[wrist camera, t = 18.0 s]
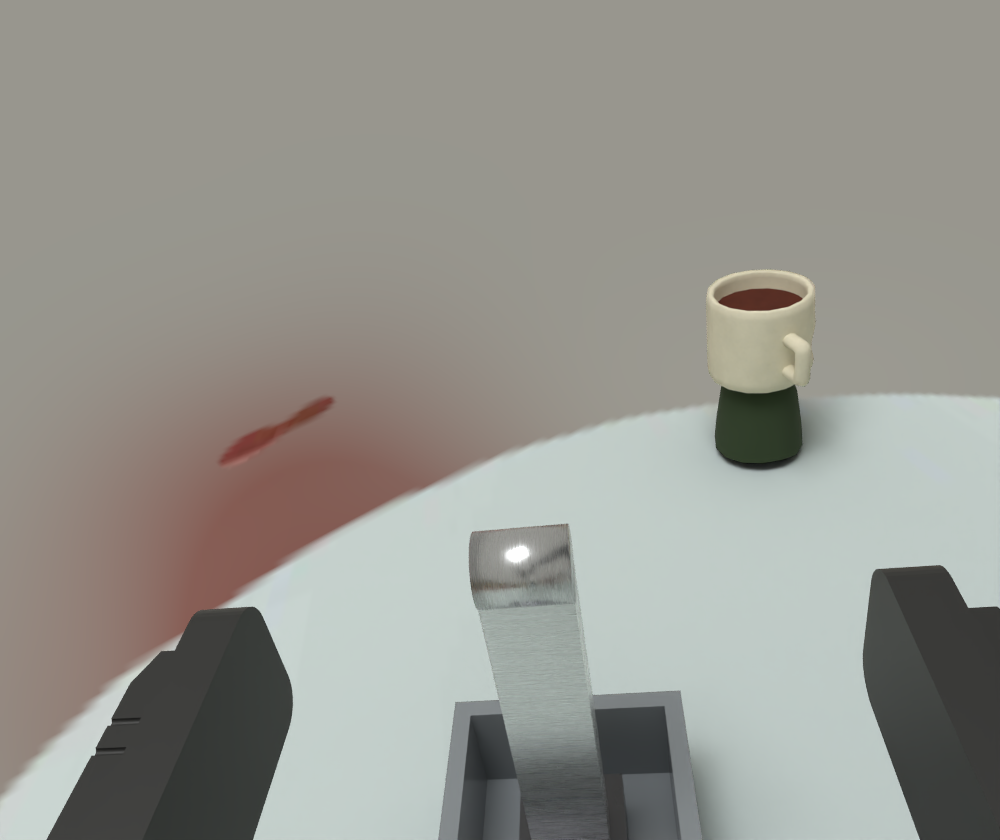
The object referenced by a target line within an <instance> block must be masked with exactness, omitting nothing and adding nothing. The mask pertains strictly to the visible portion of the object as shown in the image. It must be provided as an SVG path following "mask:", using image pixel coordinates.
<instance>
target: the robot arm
mask: <svg viewBox="0 0 1000 840" xmlns="http://www.w3.org/2000/svg"><path fill="white" fill-rule="evenodd" d="M863 669H864V677H865V683H866V688H867V692H868V696H869V700H870V703H871V706H872V709H873V711H874V714H875V717H876V720H877V722H878V725H879V728H880V731H881V733H882V736H883V739H884V742H885V744H886V747H887V750H888V753H889V755H890V758H891V761H892V764H893V766H894V769H895V772H896V775H897V777H898V780H899V783H900V786H901V788H902V791H903V794H904V797H905V799H906V802H907V805H908V808H909V811H910V813H911V816H912V819H913V822H914V824H915V827H916V830H917V833H918V835H919V838H920V840H1000V609H999V608H998V607H979V608H968V607H967V605H966V603H965V601H964V599H963V598H962V596H961V594H960V592H959V590H958V588H957V586H956V585H955V583H954V581H953V579H952V577H951V576H950V574H949V572H948V571H947V570H946V569H945V568H944V567H943V566H940V565H936V566H920V567H904V568H889V569H876V570H875V571H874V573H873V575H872V580H871V588H870V596H869V605H868V613H867V622H866V630H865V639H864V648H863ZM292 708H293V696H292V687H291V683H290V679H289V677H288V674H287V672H286V670H285V667H284V665H283V663H282V660H281V658H280V656H279V653H278V651H277V649H276V646H275V644H274V642H273V639H272V637H271V635H270V632H269V630H268V628H267V626H266V623H265V621H264V619H263V616H262V615H261V613H260V611H259V610H258V609H256V608H255V607H241V608H225V609H210V610H200V611H198V612H197V613H195V614H194V616H193V617H192V618H191V620H190V622H189V624H188V625H187V627H186V629H185V631H184V633H183V635H182V637H181V639H180V641H179V643H178V645H177V647H176V649H175V651H161V652H160V653H159V654H158V655H157V656H156V657H155V658H154V659H153V661H152V662H151V663H150V664H149V665H148V666H147V667H146V668H145V669H144V670H143V671H142V672H141V673H140V674H139V675H138V676H137V677H136V678H135V679H134V680H133V681H132V682H131V683H130V685H129V687H128V689H127V691H126V693H125V694H124V696H123V698H122V700H121V702H120V704H119V706H118V707H117V709H116V711H115V713H114V715H113V717H112V724H111V726H107V728H106V730H105V732H104V734H103V735H102V737H101V739H100V741H99V743H98V745H97V747H96V754H95V756H91V758H90V760H89V761H88V763H87V765H86V767H85V769H84V771H83V773H82V775H81V776H80V778H79V780H78V782H77V784H76V786H75V788H74V789H73V791H72V793H71V795H70V797H69V799H68V801H67V802H66V804H65V806H64V808H63V810H62V812H61V814H60V816H59V817H58V819H57V821H56V823H55V825H54V827H53V829H52V830H51V832H50V834H49V836H48V838H47V840H253V837H254V834H255V831H256V828H257V825H258V822H259V819H260V816H261V813H262V810H263V807H264V804H265V800H266V797H267V794H268V791H269V788H270V785H271V782H272V779H273V776H274V773H275V770H276V767H277V763H278V760H279V757H280V754H281V751H282V748H283V745H284V742H285V739H286V736H287V733H288V730H289V726H290V722H291V717H292Z"/></svg>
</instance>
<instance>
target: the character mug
mask: <svg viewBox="0 0 1000 840" xmlns="http://www.w3.org/2000/svg"><path fill="white" fill-rule="evenodd" d="M706 314H707V359H708V370H709V374H710V375H711V377H712V378H713V380H714V382H715V383H717V384H719V385H721V392H720V398H719V405H718V411H717V418H716V429H715V441H716V448H717V449H718V450H719V451H720V452H721V453H722V454H723V455H724V456H725V457H726V458H729V459H732V460H736V461H739V462H742V463H767V462H772V461H778V460H783V459H786V458H789V457H791V456H794V455H797V453H798V451H799V449H800V448H801V446H802V429H801V418H800V410H799V402H798V394H797V389H796V387H795V385H798V386H802V387H805V386H806V385H807V384H808V383H809V380H810V370H811V367H812V364H813V360H814V358H813V353H812V350H811V345H812V338H813V334H814V328H815V322H816V321H815V285H814V284H813V283H812V281H811V280H809V279H808V278H806V277H805V276H802V275H800V274H797V273H793V272H789V271H781V270H771V269H769V270H768V269H767V270H749V271H743V272H738V273H732V274H730V275H727V276H725V277H723V278H720V279H718V280H716V281H715V282H714V283H713V284H712V285H711V286H709V287H708V292H707V299H706Z"/></svg>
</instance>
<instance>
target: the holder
mask: <svg viewBox="0 0 1000 840" xmlns="http://www.w3.org/2000/svg"><path fill="white" fill-rule="evenodd" d="M593 701H594V708H595V715H596V722H597V730H598V737H599V744H600V751H601V758H602V765H603V772H604V774H621V773H622V778H623V786H624V794H625V803H626V811H627V823H628V835H629V840H702V834H701V827H700V820H699V814H698V807H697V800H696V793H695V787H694V780H693V773H692V767H691V760H690V753H689V746H688V740H687V733H686V726H685V719H684V713H683V706H682V699H681V692H680V691H664V692H645V693H626V694H606V695H593ZM520 797H521V792H520V788H519V784H518V779H517V775H516V771H515V766H514V762H513V758H512V754H511V749H510V745H509V741H508V736H507V732H506V728H505V723H504V719H503V715H502V711H501V706H500V702H499V700H490V701H471V702H456V703H455V710H454V718H453V726H452V734H451V742H450V750H449V758H448V766H447V774H446V782H445V790H444V798H443V806H442V814H441V822H440V830H439V838H438V840H519V827H520Z"/></svg>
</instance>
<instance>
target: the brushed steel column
mask: <svg viewBox="0 0 1000 840" xmlns="http://www.w3.org/2000/svg"><path fill="white" fill-rule="evenodd" d="M469 572H470V582H471V590H472V595H473V600H474V603H475V606H476V608H477V610H478V612H479V616H480V620H481V625H482V629H483V633H484V637H485V642H486V646H487V650H488V655H489V659H490V663H491V668H492V672H493V676H494V680H495V685H496V689H497V693H498V698H499V702H500V706H501V711H502V715H503V719H504V723H505V728H506V732H507V736H508V741H509V745H510V749H511V754H512V758H513V762H514V766H515V771H516V775H517V779H518V784H519V788H520V792H521V797H520V827H519V840H629V835H628V823H627V811H626V803H625V794H624V786H623V778H622V773H621V774H604V772H603V765H602V758H601V751H600V744H599V737H598V730H597V722H596V715H595V708H594V701H593V694H592V687H591V680H590V673H589V666H588V658H587V651H586V644H585V637H584V630H583V623H582V616H581V609H580V602H579V595H578V587H577V580H576V573H575V566H574V558H573V549H572V540H571V533H570V528H569V524H558V525H546V526H534V527H522V528H510V529H498V530H486V531H474V532H472V533H471V536H470V543H469Z"/></svg>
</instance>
